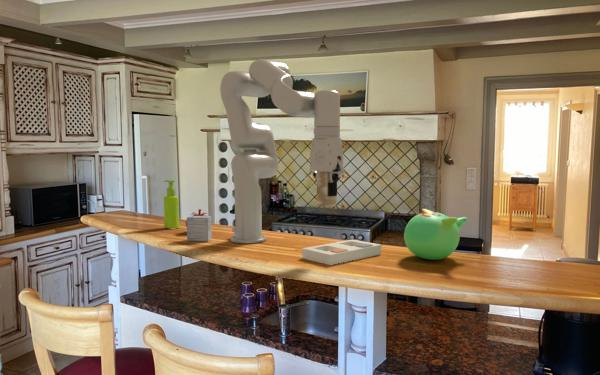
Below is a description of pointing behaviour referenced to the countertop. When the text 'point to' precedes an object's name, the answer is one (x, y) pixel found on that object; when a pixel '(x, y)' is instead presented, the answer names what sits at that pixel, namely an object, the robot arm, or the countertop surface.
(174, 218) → the soap dispenser
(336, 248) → the socket block
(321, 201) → the maple peg
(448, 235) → the toy bird
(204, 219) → the grey gift box
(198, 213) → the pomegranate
